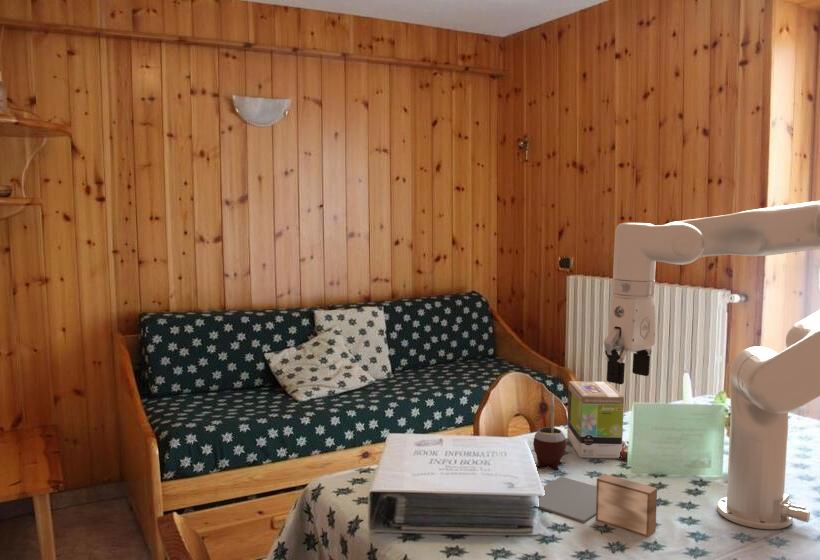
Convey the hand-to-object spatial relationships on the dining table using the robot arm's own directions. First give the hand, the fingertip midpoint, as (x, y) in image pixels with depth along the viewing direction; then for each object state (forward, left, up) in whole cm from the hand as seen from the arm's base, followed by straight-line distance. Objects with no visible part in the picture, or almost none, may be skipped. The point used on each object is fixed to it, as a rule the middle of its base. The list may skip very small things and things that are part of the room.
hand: (628, 378), depth 133 cm
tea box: (+20, -26, -25) cm, 41 cm away
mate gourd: (+22, -9, -25) cm, 35 cm away
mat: (+9, +4, -25) cm, 27 cm away
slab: (-4, +8, -25) cm, 27 cm away
